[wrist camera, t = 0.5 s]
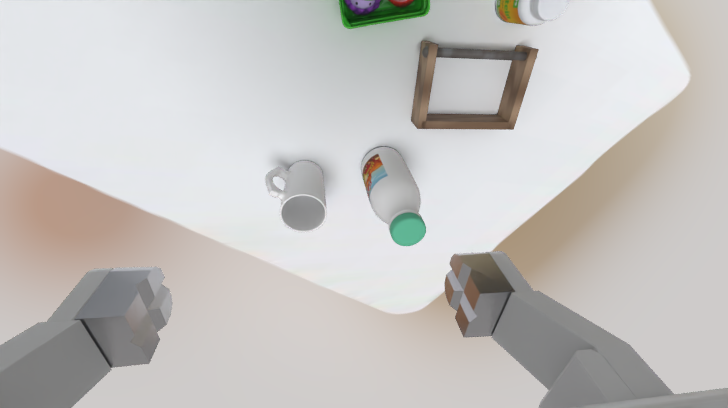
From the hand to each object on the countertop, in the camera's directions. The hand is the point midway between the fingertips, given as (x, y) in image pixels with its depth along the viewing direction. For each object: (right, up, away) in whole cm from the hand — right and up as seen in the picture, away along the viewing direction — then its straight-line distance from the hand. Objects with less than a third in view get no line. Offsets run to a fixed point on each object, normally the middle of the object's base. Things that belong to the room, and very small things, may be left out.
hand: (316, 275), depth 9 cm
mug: (-10, +8, +47) cm, 49 cm away
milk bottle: (+5, +9, +49) cm, 50 cm away
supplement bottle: (+23, +31, +37) cm, 54 cm away
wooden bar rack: (+18, +21, +43) cm, 51 cm away
